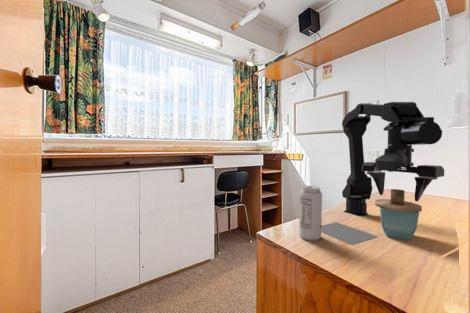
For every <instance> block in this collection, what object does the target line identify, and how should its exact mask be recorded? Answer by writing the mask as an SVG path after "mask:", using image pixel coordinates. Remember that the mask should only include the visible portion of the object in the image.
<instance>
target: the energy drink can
mask: <svg viewBox="0 0 470 313" xmlns="http://www.w3.org/2000/svg"><path fill="white" fill-rule="evenodd" d="M320 188H321V187H319V186H316V185H303V186H301V190H300V191H299V224H298V225H299V236H300V237H301V239H302V240H306V241H309V242H310V241H311V242H315V241H319V240H320V239H321V238H322V232H321V226H322V219H323V218H322V213H323V212H322V211H323V210H322V207H323V206H322V205H323V194H322V191H321V189H320Z"/></svg>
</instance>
